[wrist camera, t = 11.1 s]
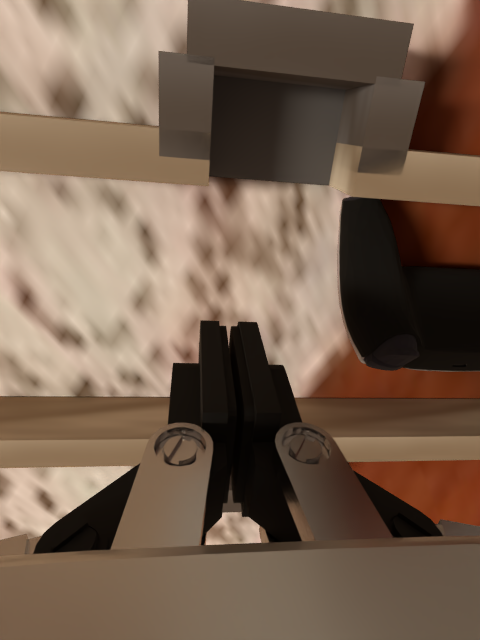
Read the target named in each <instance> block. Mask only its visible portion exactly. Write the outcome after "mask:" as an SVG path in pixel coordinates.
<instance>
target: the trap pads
mask: <svg viewBox="0 0 480 640" xmlns="http://www.w3.org/2000/svg"><path fill="white" fill-rule="evenodd" d="M345 91H346V90H344V89H335V88H326V87H317V86H308V85H298V84H289V83H280V82H271V81H262V80H253V79H244V78H235V77H226V76H217V75H214V80H213V101H212V122H211V143H210V164H209V176H213V177H226V178H239V179H252V180H265V181H278V182H291V183H304V184H317V185H329V182H330V176H331V171H332V165H333V159H334V154H335V148H336V142H337V137H338V131H339V125H340V120H341V114H342V108H343V102H344V97H345Z"/></svg>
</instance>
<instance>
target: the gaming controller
mask: <svg viewBox="0 0 480 640" xmlns="http://www.w3.org/2000/svg"><path fill="white" fill-rule="evenodd" d="M337 272H338V294H339V304H340V309H341V314H342V318H343V322H344V326H345V329H346V332H347V335H348V337H349V339H350V341H351V343H352V346H353V348H354V350H355V352H356V354H357V356H358V358H359V360H360V361H361V362H362V363H364V364H366V365H367V366H369V367H372V368H376V369H381V370H391V371H393V370H398V369H400V368H402V367H403V368H408V369H414V370H425V371H447V372H459V371H480V270H477V269H459V268H438V267H418V266H406V267H402V266H401V261H400V256H399V252H398V247H397V242H396V239H395V235H394V232H393V228H392V225H391V221H390V219H389V217H388V215H387V213H386V211H385V209H384V207H383V205H382V203H381V201H380V199H376V198H362V197H349V198H344V199H343V200H342V206H341V211H340V218H339V233H338V249H337Z"/></svg>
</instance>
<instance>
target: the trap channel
mask: <svg viewBox="0 0 480 640" xmlns="http://www.w3.org/2000/svg"><path fill="white" fill-rule="evenodd" d="M413 25H414V24H411V23H404V22H396V21H389V20H382V19H374V18H367V17H359V16H352V15H345V14H337V13H330V12H323V11H315V10H308V9H300V8H293V7H286V6H278V5H271V4H264V3H256V2H249V1H241V0H188V25H187V54H181V53H172V52H163V51H159V126H150V125H140V124H129V123H118V122H107V121H96V120H85V119H74V118H63V117H52V116H41V115H30V114H19V113H9V112H0V171H9V172H22V173H36V174H49V175H63V176H77V177H90V178H104V179H117V180H131V181H145V182H158V183H172V184H186V185H199V186H208V185H209V164H210V143H211V122H212V101H213V80H214V75H217V76H226V77H235V78H244V79H253V80H262V81H271V82H280V83H289V84H298V85H308V86H317V87H326V88H335V89H344V90H346V91H345V97H344V102H343V108H342V114H341V120H340V125H339V131H338V137H337V142H336V148H335V154H334V159H333V165H332V171H331V176H330V182H329V186H331V187H333V188H335V189H337V190H339V191H341V192H344V193H346V194H348V195H350V196H352V197H362V198H376V199H390V200H403V201H417V202H431V203H444V204H458V205H471V206H480V156H478V155H467V154H456V153H445V152H434V151H423V150H413V149H408V148H409V145H410V141H411V137H412V133H413V129H414V125H415V121H416V117H417V113H418V109H419V105H420V101H421V97H422V93H423V89H424V85H425V82H423V81H414V80H405V79H401V78H402V74H403V69H404V65H405V60H406V56H407V52H408V47H409V43H410V38H411V34H412V30H413ZM295 401H296V404H297V407H298V410H299V413H300V416H301V419H302V422H303V423H308V424H313V425H315V426H318V427H320V428H322V429H323V430H325V431H326V432H327V433H329V434H330V435H331V436H332V438H333V439H334V440H335V442H336V443H337V445H338V447H339V448H340V450H341V452H342V453H343V455H344V457H345V458H346V460H347V462H372V461H429V460H480V399H391V398H295ZM169 404H170V398H159V397H0V468H28V467H86V466H137V465H138V464H140V463H141V460H142V457H143V454H144V452H145V449H146V446H147V443H148V441H149V439H150V437H151V436H152V434H154V433H155V432H156V431H157V430H158V429H160V428H162V427H164V426H166V425H168V415H169ZM222 512H242V511H241V503H233V496H232V485H231V475H230V484H229V493H228V502H227V503H223V510H222Z"/></svg>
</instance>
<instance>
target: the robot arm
mask: <svg viewBox="0 0 480 640" xmlns="http://www.w3.org/2000/svg"><path fill="white" fill-rule="evenodd" d="M230 475H231V485H232V496H233V503H241V511H242V517H250V518H251V519H252V520H253V521H255V522H256V523H257V524H258V525H260V528H259V532H260V539H261V542H262V543H249V544H225V545H206V535H207V531H208V530H209V529H210V528H211V527H212V526H213V525H214V524H215V523H216V522H217V521H218V520H219V519H220V518H221V517H222V510H223V503H227V502H228V493H229V484H230ZM0 640H480V527H479V526H474V525H468V524H463V523H457V522H452V521H447V520H441V519H440V521H439V523H438V524H434V523H433V521H432V520H431V519H430V518H428V517H427V516H426V515H424V514H423V513H422V512H420V511H419V510H417V509H415V508H414V507H412V506H410V505H409V504H407V503H406V502H404V501H402V500H401V499H399V498H397V497H396V496H394V495H392V494H391V493H389V492H388V491H386V490H384V489H383V488H381V487H379V486H378V485H376V484H375V483H373V482H371V481H370V480H368V479H366V478H365V477H363V476H361V475H360V474H358V473H357V472H355V471H353V470H352V468H351V466H350V465H349V463H348V462H347V460H346V458H345V457H344V455H343V453H342V452H341V450H340V448H339V447H338V445H337V443H336V442H335V440H334V439H333V438H332V436H331V435H330V434H329V433H327V432H326V431H325V430H323V429H322V428H320V427H318V426H315V425H313V424H308V423H303V422H302V419H301V416H300V413H299V410H298V407H297V404H296V401H295V398H294V395H293V392H292V389H291V386H290V383H289V380H288V377H287V374H286V371H285V368H284V366H283V365H268V361H267V357H266V354H265V350H264V346H263V343H262V339H261V335H260V332H259V328H258V324H257V322H238V325H237V326H231V331H230V342H229V345H228V338H227V330H226V326H219V321H201V322H200V342H199V363H198V364H197V363H173V370H172V381H171V393H170V404H169V415H168V425H166V426H164V427H162V428H160V429H158V430H157V431H156V432H155V433H154V434H152V436H151V437H150V439H149V441H148V443H147V446H146V449H145V452H144V454H143V457H142V460H141V463H140V464H138V465H137V466H135V467H134V468H132V469H131V470H130V471H128V472H127V473H125V474H124V475H123V476H121V477H120V478H118V479H117V480H115V481H114V482H113V483H111V484H110V485H108V486H107V487H106V488H104V489H103V490H101V491H100V492H98V493H97V494H96V495H94V496H93V497H91V498H90V499H89V500H87V501H86V502H84V503H83V504H81V505H80V506H79V507H77V508H76V509H74V510H73V511H72V512H70V513H69V514H67V515H66V516H64V517H63V518H62V519H60V520H59V521H57V522H56V523H55V524H54V525H52V526H51V527H50V528H49V529H48V530H47V531H46V532H45V533H44V534H43V535H42V536H39V537H35V538H31V539H28V536H27V534H23V535H19V536H15V537H11V538H6V539H2V540H0Z"/></svg>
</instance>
